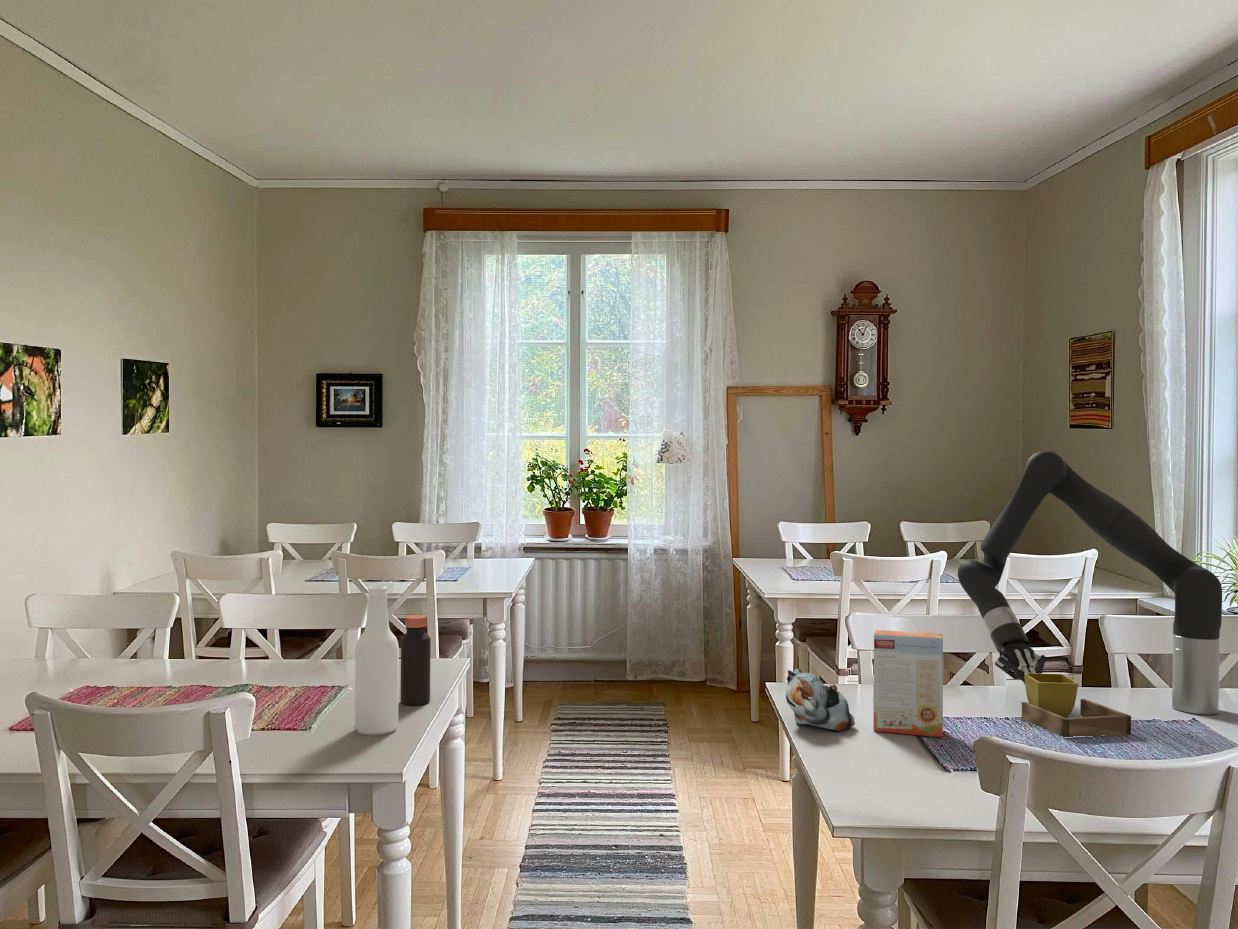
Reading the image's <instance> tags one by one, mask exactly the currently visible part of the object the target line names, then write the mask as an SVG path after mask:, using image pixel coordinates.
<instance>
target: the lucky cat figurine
mask: <svg viewBox="0 0 1238 929" xmlns="http://www.w3.org/2000/svg"><path fill="white" fill-rule="evenodd" d="M802 672H803V671H802V669H800V668H796V669H794V670H793V671H791V670H789V669H788V670H787V677H786V680H787V687H786V689H785V700H786V704H787V705H788V706H789V708H790V709H791V710H792V712H793V713H794V714H793V715H794V720H795V723H796V725H808V726H813V727H818V728H823V729H827V730H830V731H831V730H832V731H835V732H838V733H840V732H845V731H846V732H847V731H849V729H850V728H852V727H854V726H855V725H856V722H855V718H854V715H853V714H851V712H850V708H849V702H848V700H847V698H845V696H844V695H843V694H842V693H841V692H840V691H838V687H837V685H836V684H835V683H834V682H833V683H831V684H830V685H829V686H828V685H824V684H823V682H822V680H821V679H820V677H819V676H817V674H816V673H815V674H814V673H811V672H803V673H802Z"/></svg>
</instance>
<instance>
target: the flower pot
mask: <svg viewBox="0 0 1238 929" xmlns="http://www.w3.org/2000/svg"><path fill="white" fill-rule="evenodd" d="M1024 675H1025V684H1024V686H1025V693H1026V698H1027V702H1028V703H1029V704H1032V705H1034V706H1037V707H1039V708H1042V709H1044V710H1047V711H1049V712H1052V713H1054V714H1057V715H1059V716H1062V717H1064V718H1069V717H1070V715H1071V714H1072V712H1073V709H1074V708H1075V705H1076V701H1077V700H1076V699H1077V694H1078V687H1079V683H1078V682H1077V681H1075V680H1074V679H1072V678H1070V677H1069V676H1067V675H1065V674H1063V673H1046V672H1045V673H1043V672H1042V673H1024Z"/></svg>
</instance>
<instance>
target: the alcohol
mask: <svg viewBox="0 0 1238 929" xmlns="http://www.w3.org/2000/svg"><path fill="white" fill-rule="evenodd" d="M367 590H368V592H367V596H368V598H367V608H366V609H367V610H366V623H365V627H364V631H363V632H362V634H361V635H360V636H359V638H358V639H357V641H356V644H355V656H354V657H355V658H354V659H355V664H354V665H355V669H354V670H355V673H354V675H355V676H354V678H355V679H354V729H355V731H356V732H357V733H358V734H360V735H364V736H381V735H387V734H390V733H394V732H395V731H396V729H397V728H398V726H399V676H400V674H399V670H400V669H399V667H400V666H399V664H400V661H399V660H400V659H399V658H400V657H399V656H400V652H399V651H400V646H399V641H398V639H397V637H396V636H395V634H394V633H393V632H392V630H391V628H390V625H389V624H390V622H389V610H388V596H387V595H388V587H387V586H386V585H371V586H369V587H367Z"/></svg>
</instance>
